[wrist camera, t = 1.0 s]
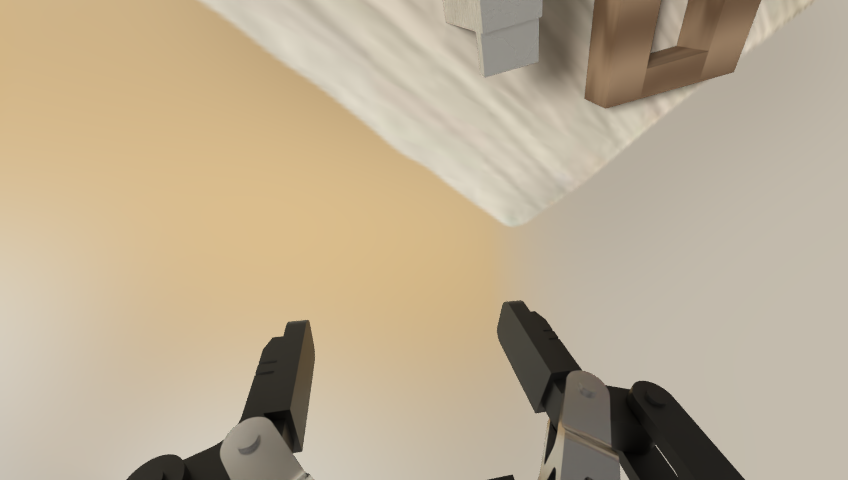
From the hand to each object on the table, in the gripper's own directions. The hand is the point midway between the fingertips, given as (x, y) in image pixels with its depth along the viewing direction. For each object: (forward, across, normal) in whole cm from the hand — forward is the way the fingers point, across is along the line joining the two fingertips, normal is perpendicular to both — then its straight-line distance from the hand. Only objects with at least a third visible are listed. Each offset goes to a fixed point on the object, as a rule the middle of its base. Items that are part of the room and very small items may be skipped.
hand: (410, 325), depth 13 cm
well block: (+20, -25, -14) cm, 35 cm away
